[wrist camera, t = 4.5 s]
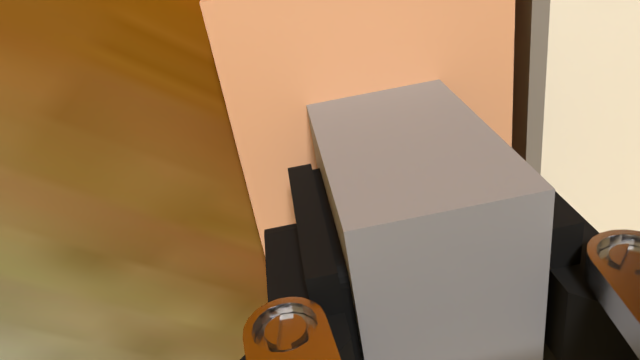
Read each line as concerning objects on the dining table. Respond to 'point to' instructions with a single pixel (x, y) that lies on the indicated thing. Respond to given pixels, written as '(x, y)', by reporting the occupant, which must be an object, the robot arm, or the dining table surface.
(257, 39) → the pink base grey block
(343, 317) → the robot arm
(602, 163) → the base
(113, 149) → the dining table surface
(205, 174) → the dining table surface
